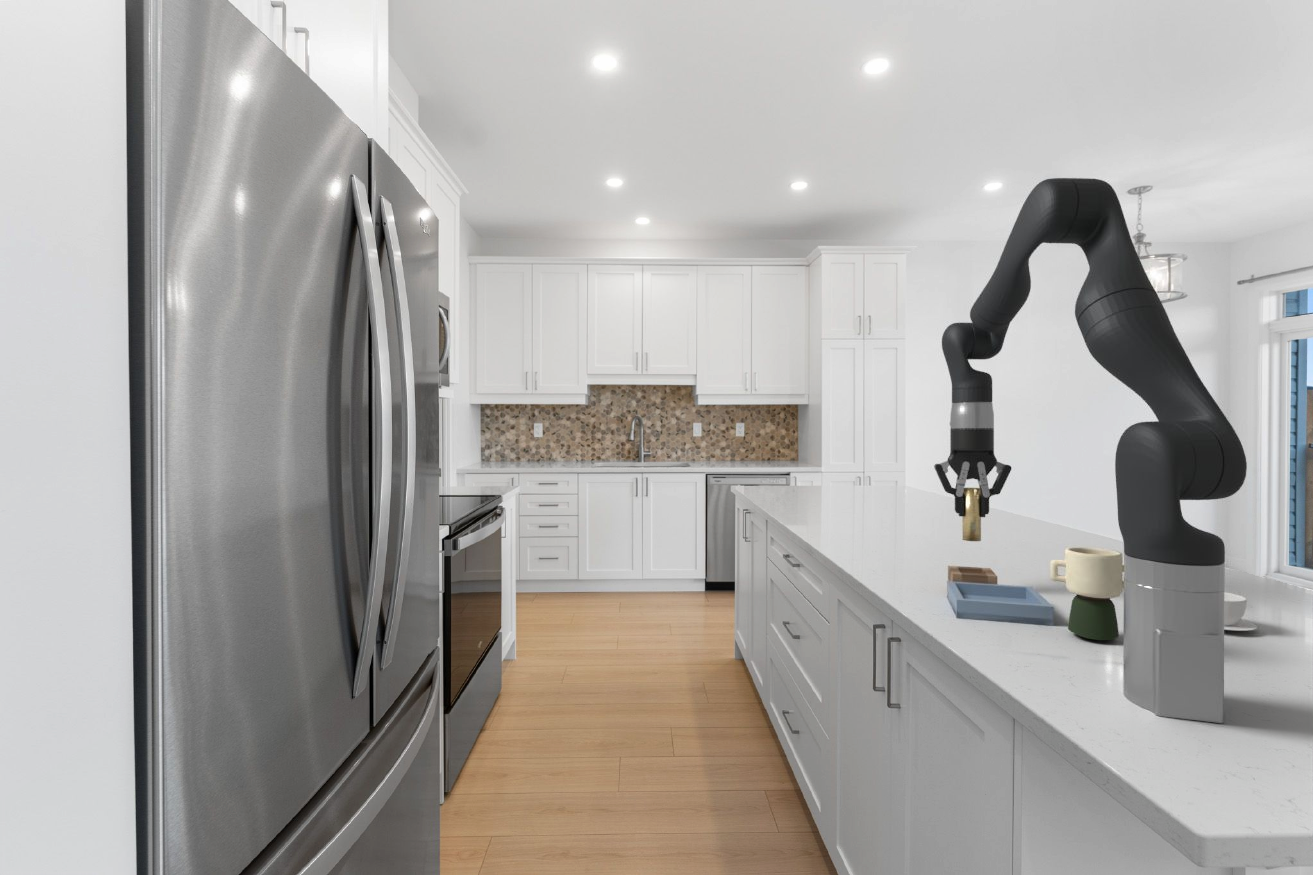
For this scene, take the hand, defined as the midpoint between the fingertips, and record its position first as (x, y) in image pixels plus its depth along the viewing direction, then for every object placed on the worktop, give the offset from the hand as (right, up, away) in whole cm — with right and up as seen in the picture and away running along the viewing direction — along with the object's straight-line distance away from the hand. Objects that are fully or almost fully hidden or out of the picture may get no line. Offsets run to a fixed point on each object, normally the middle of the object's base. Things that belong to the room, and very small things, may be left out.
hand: (971, 515), depth 124 cm
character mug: (+5, -15, -28) cm, 32 cm away
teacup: (+29, -15, -20) cm, 39 cm away
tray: (-2, -15, -13) cm, 20 cm away
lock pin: (0, -5, 0) cm, 5 cm away
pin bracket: (0, -15, 0) cm, 15 cm away
